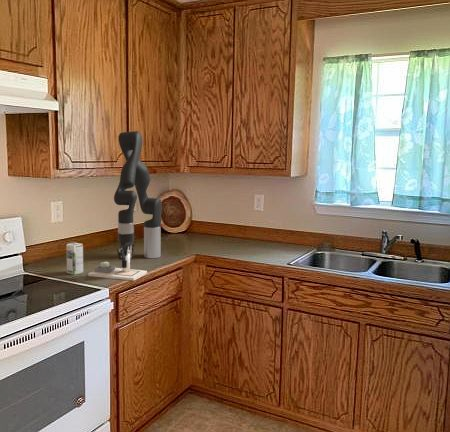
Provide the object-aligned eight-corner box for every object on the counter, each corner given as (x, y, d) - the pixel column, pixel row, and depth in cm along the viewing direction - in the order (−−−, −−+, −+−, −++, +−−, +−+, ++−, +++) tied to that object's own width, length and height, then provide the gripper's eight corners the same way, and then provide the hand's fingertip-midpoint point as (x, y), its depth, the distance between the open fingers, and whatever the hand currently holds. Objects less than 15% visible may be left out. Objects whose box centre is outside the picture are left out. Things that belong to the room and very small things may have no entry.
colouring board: (103, 268, 237) (103, 262, 237) (146, 273, 231) (146, 266, 230) (88, 276, 224) (88, 269, 223) (134, 280, 217) (133, 274, 217)
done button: (103, 267, 231) (103, 261, 231) (111, 268, 230) (110, 261, 230) (98, 269, 227) (98, 263, 227) (106, 270, 226) (106, 263, 226)
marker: (124, 269, 230) (124, 248, 229) (131, 270, 229) (131, 249, 228) (121, 271, 227) (120, 250, 225) (127, 272, 226) (127, 250, 224)
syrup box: (66, 273, 228) (65, 243, 226) (76, 270, 233) (75, 241, 231) (74, 275, 225) (73, 245, 223) (84, 272, 230) (83, 243, 228)
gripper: (125, 228, 233) (126, 262, 236) (111, 233, 220) (112, 269, 222) (139, 230, 231) (139, 264, 234) (126, 234, 218) (126, 271, 220)
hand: (126, 266), depth 228 cm, fingers closed on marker, 3 cm apart
